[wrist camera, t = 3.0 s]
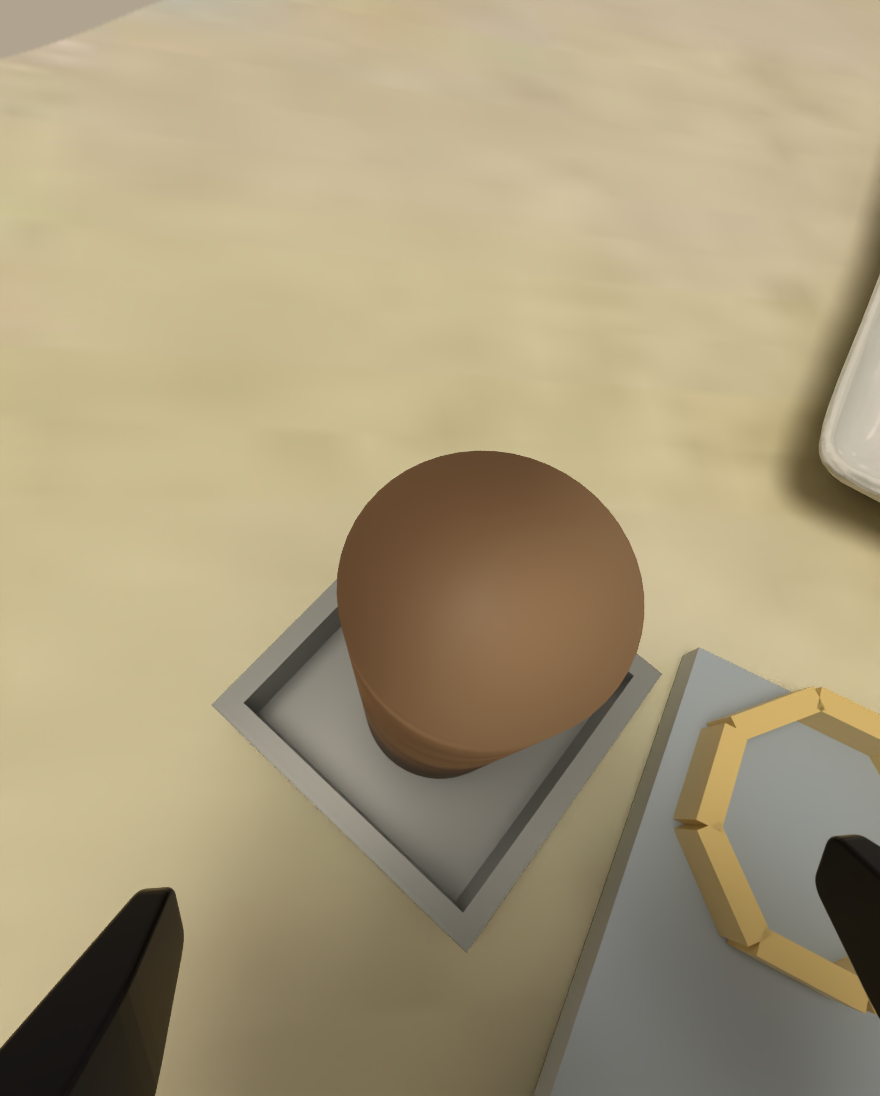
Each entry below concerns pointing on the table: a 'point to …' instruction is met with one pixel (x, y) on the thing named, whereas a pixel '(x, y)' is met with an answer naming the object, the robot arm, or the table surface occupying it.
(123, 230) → the table surface
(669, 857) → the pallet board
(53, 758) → the table surface
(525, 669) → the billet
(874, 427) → the square plate
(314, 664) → the gray square tray
